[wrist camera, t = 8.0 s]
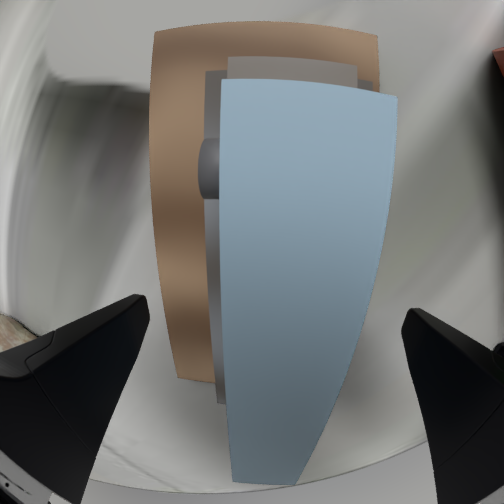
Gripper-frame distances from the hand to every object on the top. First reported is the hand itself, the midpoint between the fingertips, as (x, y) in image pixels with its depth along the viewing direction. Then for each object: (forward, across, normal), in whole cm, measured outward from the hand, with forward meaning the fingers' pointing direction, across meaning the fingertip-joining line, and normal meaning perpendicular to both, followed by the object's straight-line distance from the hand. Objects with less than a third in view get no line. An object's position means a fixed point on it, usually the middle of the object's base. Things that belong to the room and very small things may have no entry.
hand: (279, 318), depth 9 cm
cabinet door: (+4, 0, 0) cm, 5 cm away
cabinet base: (+6, +1, -1) cm, 6 cm away
